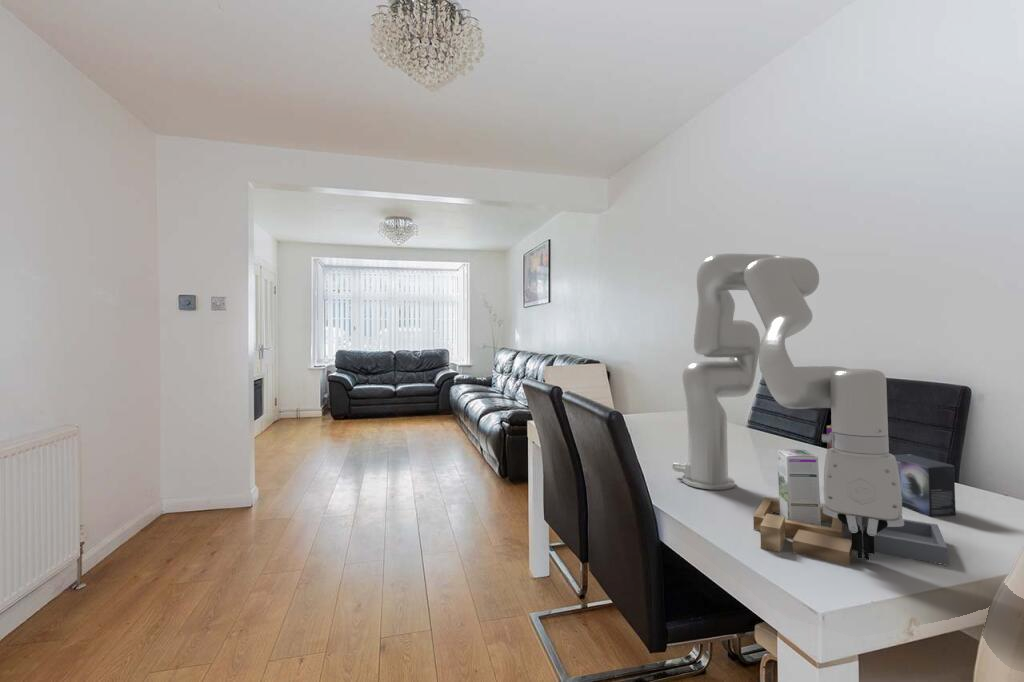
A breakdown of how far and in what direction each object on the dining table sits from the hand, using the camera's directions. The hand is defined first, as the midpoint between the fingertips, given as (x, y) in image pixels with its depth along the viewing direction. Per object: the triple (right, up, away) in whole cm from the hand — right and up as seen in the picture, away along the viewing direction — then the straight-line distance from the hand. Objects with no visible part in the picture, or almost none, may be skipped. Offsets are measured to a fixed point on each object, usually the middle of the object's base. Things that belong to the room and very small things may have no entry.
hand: (863, 556), depth 77 cm
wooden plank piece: (-4, -2, +4) cm, 6 cm away
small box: (+31, -1, +25) cm, 40 cm away
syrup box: (-1, -1, +16) cm, 16 cm away
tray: (+11, -1, +7) cm, 13 cm away
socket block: (-1, -1, +16) cm, 16 cm away
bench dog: (-10, -1, +8) cm, 13 cm away
